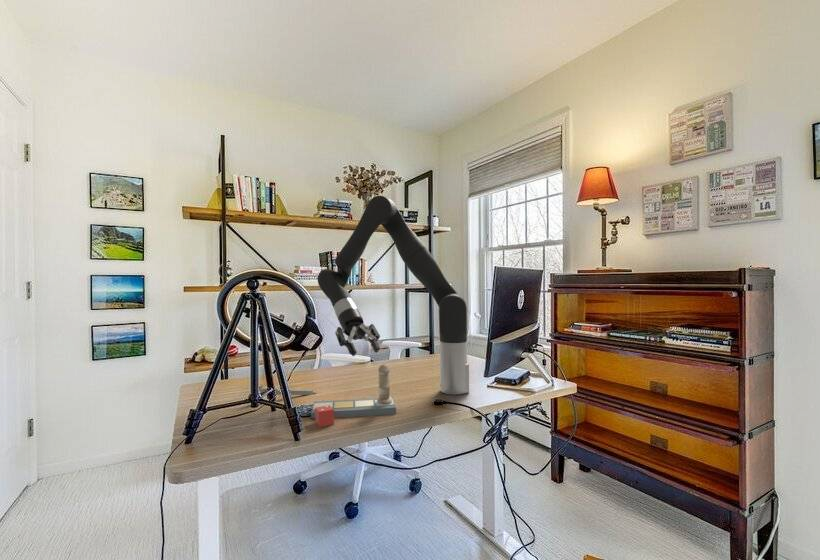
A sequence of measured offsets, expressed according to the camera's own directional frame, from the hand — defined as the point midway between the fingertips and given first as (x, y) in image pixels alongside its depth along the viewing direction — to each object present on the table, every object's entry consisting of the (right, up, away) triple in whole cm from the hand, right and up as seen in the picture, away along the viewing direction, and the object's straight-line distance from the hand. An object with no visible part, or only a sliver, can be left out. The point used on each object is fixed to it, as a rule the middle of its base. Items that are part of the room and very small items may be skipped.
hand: (366, 352), depth 128 cm
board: (-3, -16, -9) cm, 18 cm away
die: (-9, -16, -19) cm, 26 cm away
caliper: (-27, -16, +4) cm, 32 cm away
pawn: (+6, -13, -8) cm, 17 cm away
